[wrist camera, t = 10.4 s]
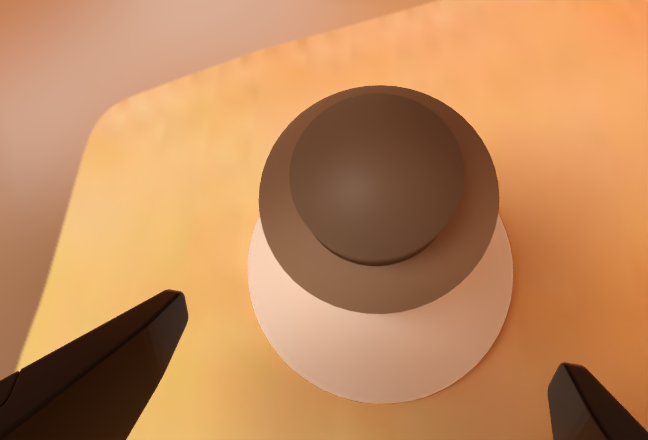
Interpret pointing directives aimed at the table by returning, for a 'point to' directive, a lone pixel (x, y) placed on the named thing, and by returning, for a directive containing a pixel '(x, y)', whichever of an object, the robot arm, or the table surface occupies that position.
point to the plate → (382, 329)
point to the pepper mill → (379, 199)
